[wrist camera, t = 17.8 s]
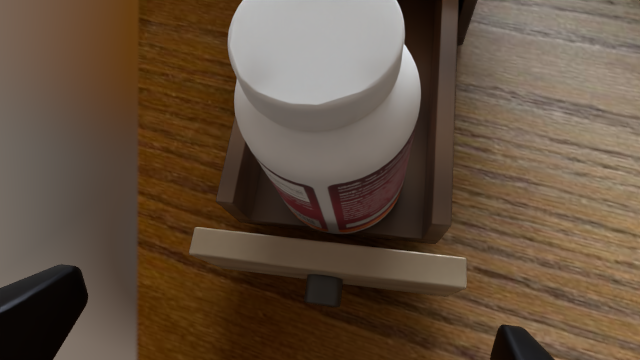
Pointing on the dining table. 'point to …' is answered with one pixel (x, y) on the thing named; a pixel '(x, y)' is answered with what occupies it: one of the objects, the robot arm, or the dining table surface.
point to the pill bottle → (327, 104)
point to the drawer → (399, 224)
